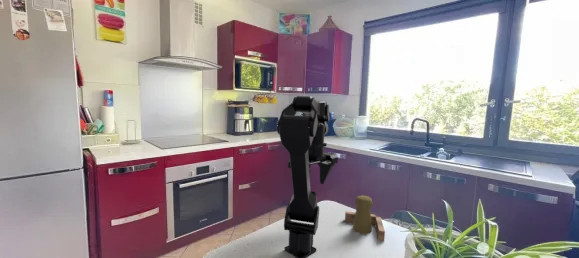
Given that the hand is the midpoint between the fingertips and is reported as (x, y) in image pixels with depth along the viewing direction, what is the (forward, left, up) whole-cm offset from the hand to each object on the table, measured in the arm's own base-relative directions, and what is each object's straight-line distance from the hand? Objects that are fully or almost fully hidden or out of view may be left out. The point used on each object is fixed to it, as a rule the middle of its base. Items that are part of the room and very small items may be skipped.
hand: (313, 186), depth 86 cm
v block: (+13, -14, -13) cm, 23 cm away
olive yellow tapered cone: (+10, -13, -13) cm, 21 cm away
